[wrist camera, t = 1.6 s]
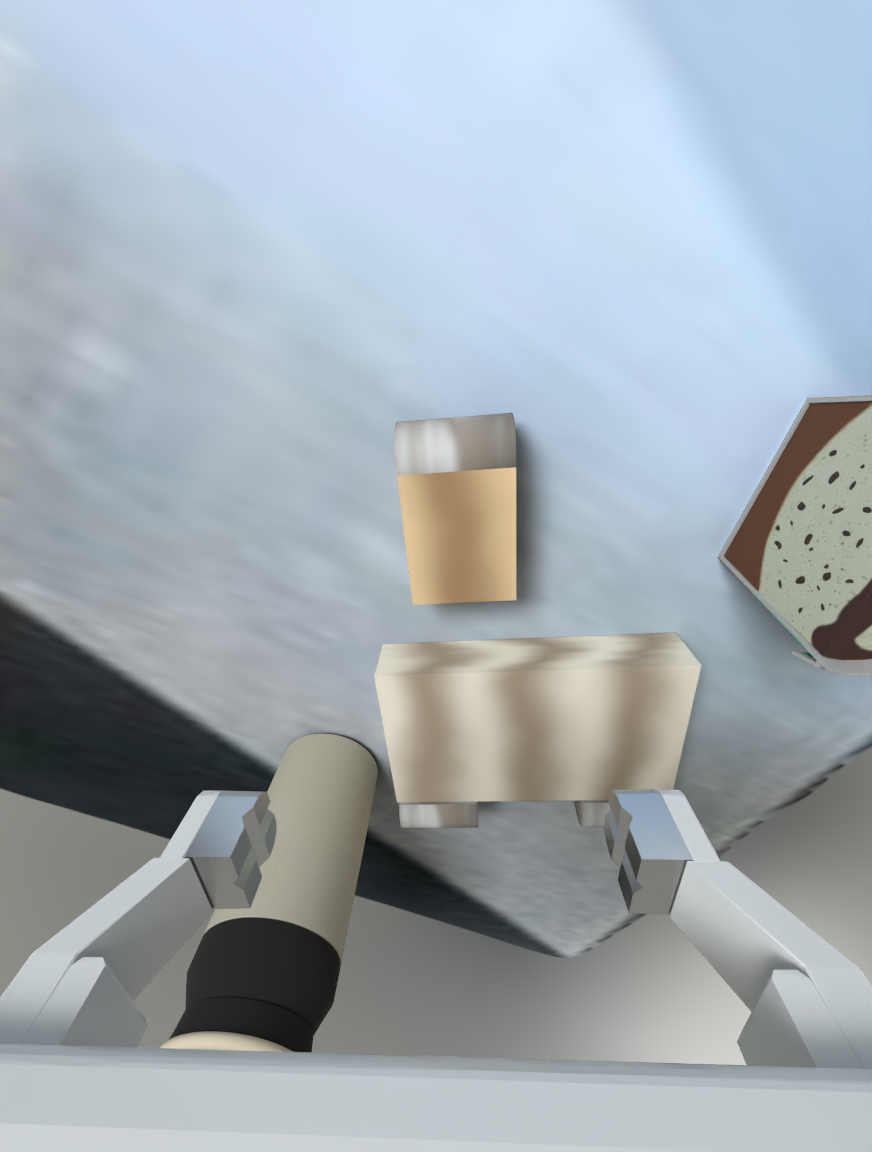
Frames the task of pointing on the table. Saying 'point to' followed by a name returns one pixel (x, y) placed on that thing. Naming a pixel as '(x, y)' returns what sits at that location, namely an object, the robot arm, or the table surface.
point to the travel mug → (287, 911)
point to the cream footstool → (532, 722)
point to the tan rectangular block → (459, 507)
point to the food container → (815, 535)
